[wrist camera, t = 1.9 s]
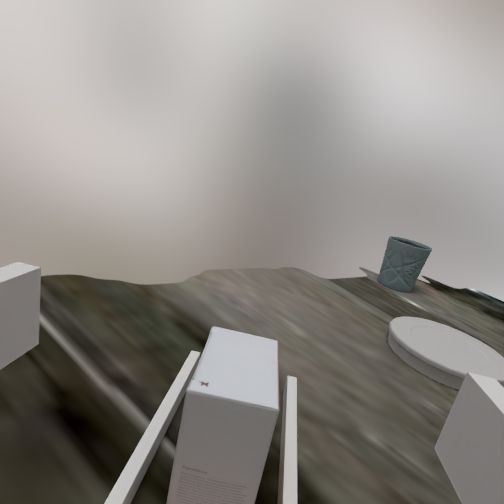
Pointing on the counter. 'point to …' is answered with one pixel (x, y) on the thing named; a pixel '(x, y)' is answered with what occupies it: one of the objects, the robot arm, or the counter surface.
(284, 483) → the guide channel
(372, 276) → the counter surface
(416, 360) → the lid
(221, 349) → the small box
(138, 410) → the counter surface
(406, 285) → the drinking glass
